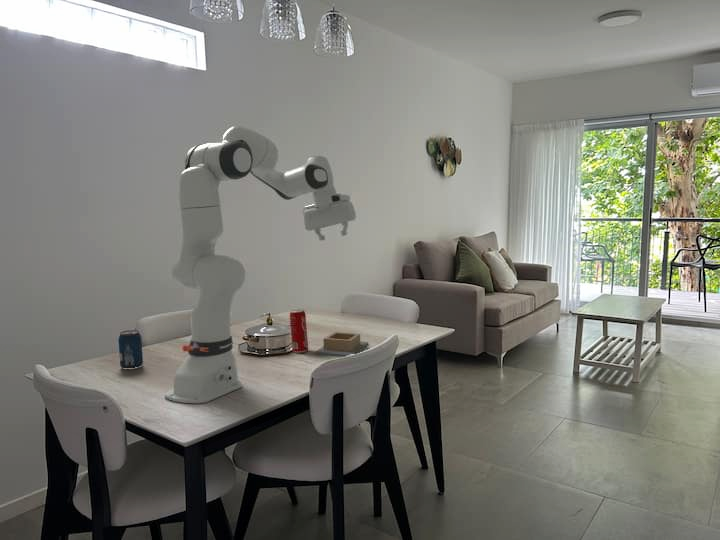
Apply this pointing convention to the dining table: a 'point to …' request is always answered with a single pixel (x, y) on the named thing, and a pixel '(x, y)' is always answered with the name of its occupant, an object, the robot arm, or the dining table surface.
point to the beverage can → (298, 331)
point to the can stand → (341, 344)
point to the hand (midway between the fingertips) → (333, 237)
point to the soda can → (130, 349)
